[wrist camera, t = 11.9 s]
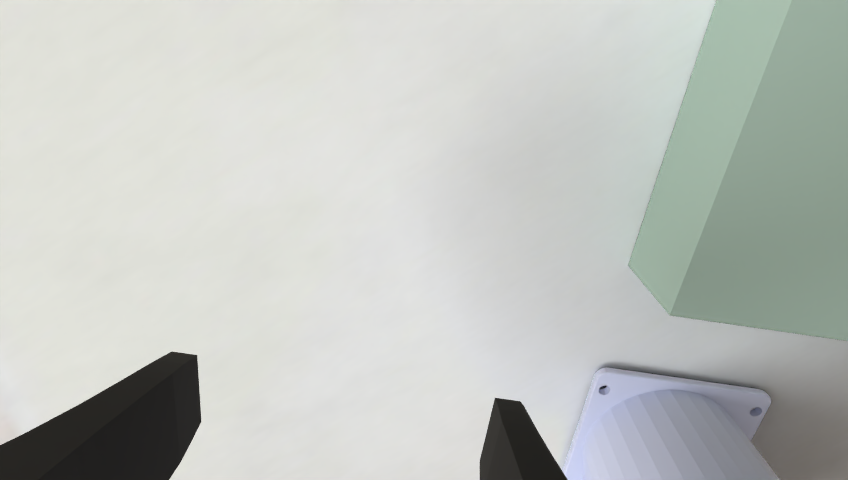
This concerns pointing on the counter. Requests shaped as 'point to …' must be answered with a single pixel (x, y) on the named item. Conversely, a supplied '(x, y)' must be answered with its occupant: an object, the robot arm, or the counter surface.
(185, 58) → the counter surface
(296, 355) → the counter surface
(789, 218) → the socket block
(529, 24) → the counter surface
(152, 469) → the robot arm
